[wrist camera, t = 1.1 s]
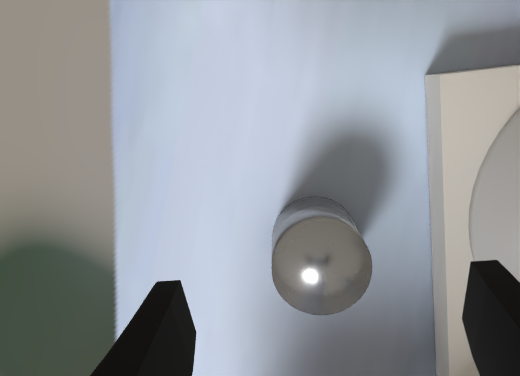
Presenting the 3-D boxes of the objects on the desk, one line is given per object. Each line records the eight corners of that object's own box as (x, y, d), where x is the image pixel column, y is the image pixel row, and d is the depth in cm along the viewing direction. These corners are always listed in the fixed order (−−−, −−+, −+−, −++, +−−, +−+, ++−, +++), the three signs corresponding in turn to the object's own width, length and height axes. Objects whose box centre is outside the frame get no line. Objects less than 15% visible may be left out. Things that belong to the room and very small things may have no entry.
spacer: (358, 272, 24) (375, 310, 20) (276, 280, 24) (277, 319, 20) (352, 192, 23) (368, 215, 19) (267, 201, 23) (266, 226, 19)
